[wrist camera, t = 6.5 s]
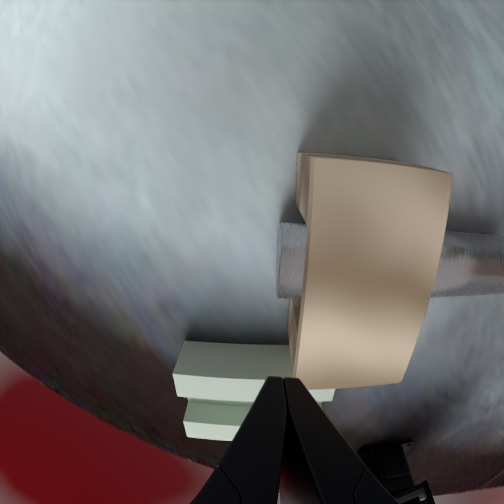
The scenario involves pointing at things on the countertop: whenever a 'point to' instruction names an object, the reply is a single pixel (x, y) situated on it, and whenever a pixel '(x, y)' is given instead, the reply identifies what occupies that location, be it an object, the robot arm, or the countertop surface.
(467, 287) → the axle
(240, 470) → the robot arm
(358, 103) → the countertop surface
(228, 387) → the v block
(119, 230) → the countertop surface
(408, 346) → the wooden bridge block
